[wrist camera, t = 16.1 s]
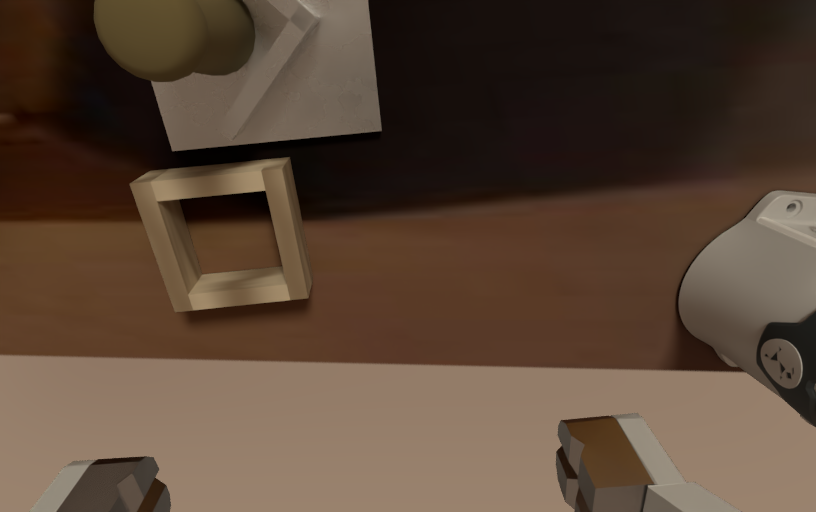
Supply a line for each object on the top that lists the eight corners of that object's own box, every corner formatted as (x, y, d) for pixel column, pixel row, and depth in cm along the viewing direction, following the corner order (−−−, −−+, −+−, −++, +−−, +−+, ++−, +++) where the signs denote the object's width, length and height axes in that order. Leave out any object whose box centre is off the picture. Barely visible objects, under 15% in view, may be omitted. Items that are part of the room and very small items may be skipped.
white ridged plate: (354, -127, 30) (351, -147, 26) (381, 128, 37) (382, 138, 33) (100, -105, 29) (64, -124, 26) (176, 148, 36) (156, 161, 33)
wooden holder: (289, 157, 37) (281, 168, 34) (313, 278, 42) (308, 298, 39) (150, 170, 37) (129, 183, 34) (190, 291, 42) (175, 312, 39)
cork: (197, -44, 30) (112, -81, 20) (273, 28, 32) (229, 26, 23) (146, 30, 32) (45, 29, 22) (222, 94, 34) (160, 119, 24)
